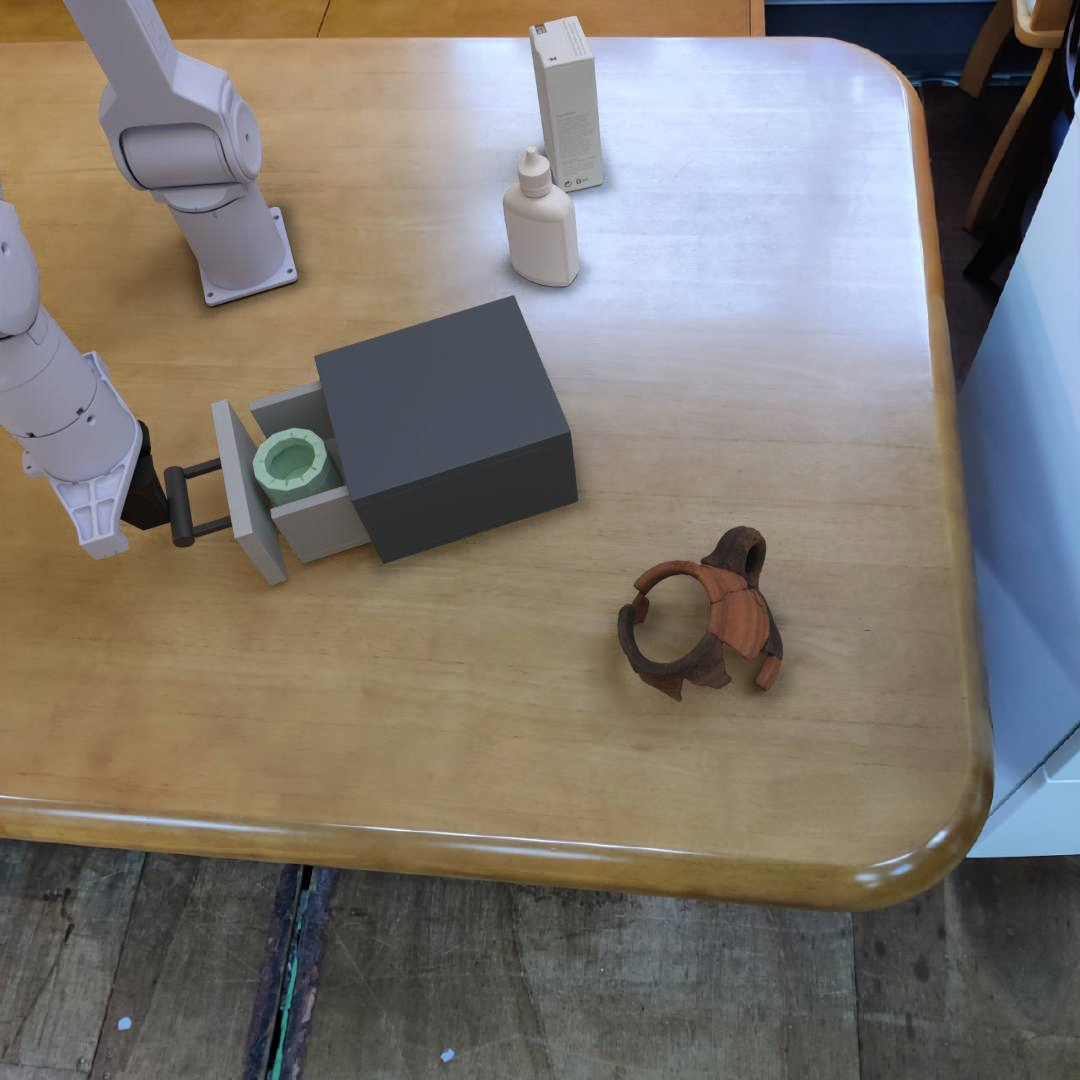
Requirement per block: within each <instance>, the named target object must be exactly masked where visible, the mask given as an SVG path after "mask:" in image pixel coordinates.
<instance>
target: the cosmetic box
mask: <svg viewBox="0 0 1080 1080" xmlns="http://www.w3.org/2000/svg"><path fill="white" fill-rule="evenodd" d="M528 34H529V43H530V51H531V58H532V65H533V73H534V80H535V86H536V93H537V94H536V95H537V101H538V106H539V115H540V121H541V129H542V137H543V143H544V150H545V151H544V152H545V154H546V158H547V159H548V160H549V163H550V170H551V174H552V176H553V180H554V182H555V185H556V186H557V187H559V188H560V189H562V190H563V191H564V192H565V193H568V192H574V191H579V190H582V189H588V188H592V187H596V186H599V185H602V184H603V182H604V169H603V156H602V155H603V154H602V144H601V128H600V116H599V115H600V114H599V102H598V101H599V100H598V90H597V89H598V88H597V79H596V63H595V61H596V59H595V56H594V55H595V54H594V53H593V51H592V49H591V46H590V44H589V42H588V39H587V37H586V35H585V32H584V30H583V27H582V26H581V23H580V21H579V19H578V16H577V15H571V16H567V17H563V18H559V19H555V20H551V21H546V22H543V23H537V24H535V25H531V26H529V28H528Z"/></svg>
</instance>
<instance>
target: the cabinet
mask: <svg viewBox="0 0 1080 1080" xmlns="http://www.w3.org/2000/svg"><path fill="white" fill-rule="evenodd" d="M313 358H314V363H315V365H316V371H317V373H318V377H319V381H320V382H321V386H322V390H323V394H324V398H325V402H326V406H327V409H328V413H329V417H330V421H331V425H332V429H333V433H334V437H335V441H336V445H337V448H338V452H339V456H340V460H341V464H342V468H343V472H344V476H345V480H346V484H347V488H348V491H349V495H350V499H351V502H352V504H353V506H354V508H355V510H356V512H357V514H358V516H359V518H360V520H361V521H362V523H363V525H364V527H365V529H366V531H367V533H368V535H369V537H370V539H371V541H372V542H371V543H372V545H373V547H374V549H375V551H376V552H377V555H378V556H379V558H380V561H381V562H382V564H388V563H391V562H394V561H396V560H397V561H398V560H399V559H403V558H406V557H409V556H412V555H414V554H418V553H421V552H424V551H428V550H430V549H433V548H437V547H440V546H443V545H445V544H449V543H453V542H455V541H459V540H462V539H465V538H468V537H471V536H473V535H474V536H475V535H477V534H479V533H484V532H487V531H490V530H493V529H495V528H498V527H501V526H505V525H508V524H512V523H513V522H518V521H520V520H524V519H527V518H529V517H533V516H536V515H539V514H542V513H546V512H548V511H551V510H555V509H557V508H561V507H563V506H566V505H567V506H568V505H570V504H573V503H576V502H579V493H578V492H579V491H578V482H577V475H576V465H575V457H574V447H573V440H572V439H573V438H572V430H571V428H570V425H569V423H568V421H567V419H566V416H565V414H564V411H563V408H562V406H561V404H560V401H559V399H558V396H557V394H556V392H555V389H554V387H553V385H552V382H551V380H550V378H549V376H548V375H549V374H548V373H547V371H546V368H545V365H544V363H543V361H542V358H541V356H540V354H539V351H538V348H537V346H536V344H535V342H534V339H533V336H532V334H531V332H530V330H529V327H528V324H527V323H526V320H525V317H524V314H523V313H522V311H521V308H520V306H519V304H518V300H517V298H516V296H515V295H514V294H512V295H509V296H505V297H501V298H499V299H496V300H492V301H489V302H486V303H483V304H479V305H475V306H473V307H469V308H466V309H463V310H460V311H456V312H453V313H450V314H445V315H444V316H439V317H437V318H434V319H430V320H427V321H424V322H420V323H417V324H414V325H410V326H407V327H403V328H401V329H398V330H395V331H391V332H388V333H384V334H381V335H377V336H375V337H371V338H368V339H365V340H362V341H358V342H355V343H352V344H349V345H345V346H342V347H338V348H336V349H332V350H328V351H326V352H322V353H320V354H316V355H313Z"/></svg>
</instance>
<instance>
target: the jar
mask: <svg viewBox="0 0 1080 1080" xmlns="http://www.w3.org/2000/svg"><path fill="white" fill-rule="evenodd" d="M257 448H258V450H257V453H256V455H255V458H254V460H253V468H254V473H255V477H256V479H257V481H258V482H259V484H260V485H261V487H262V488H263V490H264V491H265V493H266V494H267V496H268V497H269V499H270V501H271V504H272V506H273V508H275V507H279V506H282V505H285V504H288V503H291V502H294V501H298V500H301V499H304V498H307V497H310V496H313V495H317V494H320V493H323V492H326V491H329V490H332V489H336V488H339V487H342V486H344V485H343V481H342V478H341V475H340V472H339V470H338V468H337V466H336V464H335V462H334V460H333V458H332V456H331V454H330V452H329V450H328V449H327V447H326V445H325V443H324V441H323V440H322V439H321V438H320V437H319V436H317V435H316V434H315V433H314V432H312V431H311V430H306V429H298V428H291V429H288V430H285V431H281V432H278V433H275V434H273V435H272V436H271V437H269V438H268V439H266V440H265V441H263V442H262V443H261V444H259V447H257Z"/></svg>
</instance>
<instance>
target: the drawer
mask: <svg viewBox="0 0 1080 1080" xmlns="http://www.w3.org/2000/svg"><path fill="white" fill-rule="evenodd" d="M210 408H211V415H212V420H213V425H214V431H215V436H216V444H217V448H218V449H217V450H218V454H219V457H216V458H214V459H209V460H206V461H204V462H200V463H196V464H194V465H190V466H188V467H184V468H183V467H182V466H179V465H171V466H168V467H167V468H165V469H164V470H163V480H164V488H165V496H166V498H167V503H168V510H169V517H170V523H169V524H170V525H169V526H170V531H171V539H172V544H173V545H174V547H176V548H180V549H184V548H190V547H192V546H193V545H194V544H195V543H196V539H198V538H201V537H202V538H203V537H205V536H207V535H212V534H214V533H218V532H221V531H224V530H226V529H230V528H232V533H233V538H234V540H235V541H236V543H238V545H239V546H240V548H241V549H242V550H243V551H244V553H245V554H246V556H247V557H248V558H249V559H250V560H251V562H252V563H253V564H254V566H255V567H256V568H257V570H258V571H259V572H260V574H261V575H262V576H263V577H264V579H265V580H266V582H267V583H268V584H269V585H270V586H274V585H277V584H279V583H283V582H287V581H288V578H287V573H286V569H285V563H284V559H283V552H282V548H281V543H280V538H279V534H278V530H279V532H280V533H281V535H282V536H283V538H284V539H285V541H286V542H287V543H288V545H289V546H290V548H291V550H292V551H293V552H294V554H295V556H296V557H297V559H298V560H299V561H300V563H301V564H306V563H310V562H312V561H316V560H318V559H322V558H324V557H327V556H328V557H329V556H331V555H334V554H338V553H340V552H344V551H346V550H349V549H352V548H356V547H359V546H363V545H365V544H369V543H372V541H371V539H370V537H369V535H368V533H367V531H366V529H365V527H364V525H363V523H362V521H361V520H360V518H359V516H358V514H357V512H356V510H355V508H354V506H353V504H352V502H351V499H350V495H349V491H348V488H347V484H346V480H345V476H344V472H343V468H342V464H341V460H340V456H339V452H338V448H337V445H336V441H335V437H334V433H333V429H332V425H331V421H330V417H329V413H328V409H327V406H326V402H325V398H324V394H323V390H322V386H321V382H320V380H317V381H313V382H310V383H307V384H304V385H299V386H298V387H294V388H291V389H288V390H284V391H281V392H278V393H275V394H271V395H268V396H265V397H262V398H259V399H255V400H251V401H248V409H249V412H250V413H251V415H252V417H253V418H254V420H255V422H256V423H257V425H258V427H259V429H260V430H261V432H262V433H263V435H264V437H265V439H266V440H267V439H268V438H269V437H271V436H272V435H273V434H275V433H278V432H281V431H285V430H288V429H291V428H298V429H306V430H311V431H312V432H314V433H315V434H316V435H317V436H319V437H320V438H321V439H322V440H323V441H324V443H325V445H326V447H327V449H328V450H329V452H330V454H331V456H332V458H333V460H334V462H335V464H336V466H337V468H338V470H339V472H340V475H341V478H342V481H343V485H344V486H342V487H339V488H336V489H332V490H329V491H326V492H323V493H320V494H317V495H313V496H310V497H307V498H304V499H301V500H298V501H294V502H291V503H288V504H285V505H282V506H279V507H273V504H272V502H271V501H270V499H269V497H268V496H267V494H266V493H265V491H264V490H263V488H262V487H261V485H260V484H259V482H258V481H257V479H256V477H255V473H254V468H253V460H254V458H255V455H256V453H257V450H258V448H259V447H258V446H257V444H256V442H254V440H253V438H252V437H251V435H250V433H249V431H248V430H247V429H246V426H245V425H244V424H243V422H242V420H241V418H240V417H239V416H238V414H237V412H236V410H235V409H234V408H233V406H232V404H231V403H230V401H229V400H228V398H226V399H222V400H219V401H216V402H212V403H210ZM219 470H222V471H221V472H222V475H223V476H222V477H223V483H224V488H225V494H226V499H227V505H228V509H229V510H228V511H229V515H226V516H223V517H220V518H217V519H214V520H211V521H207V522H204V523H201V524H198V525H194V522H193V517H192V510H191V504H190V497H189V491H188V484H187V483H188V482H187V480H190V479H191V480H192V479H194V478H197V477H200V476H203V475H207V474H210V473H213V472H216V471H219ZM277 528H278V529H277Z"/></svg>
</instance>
